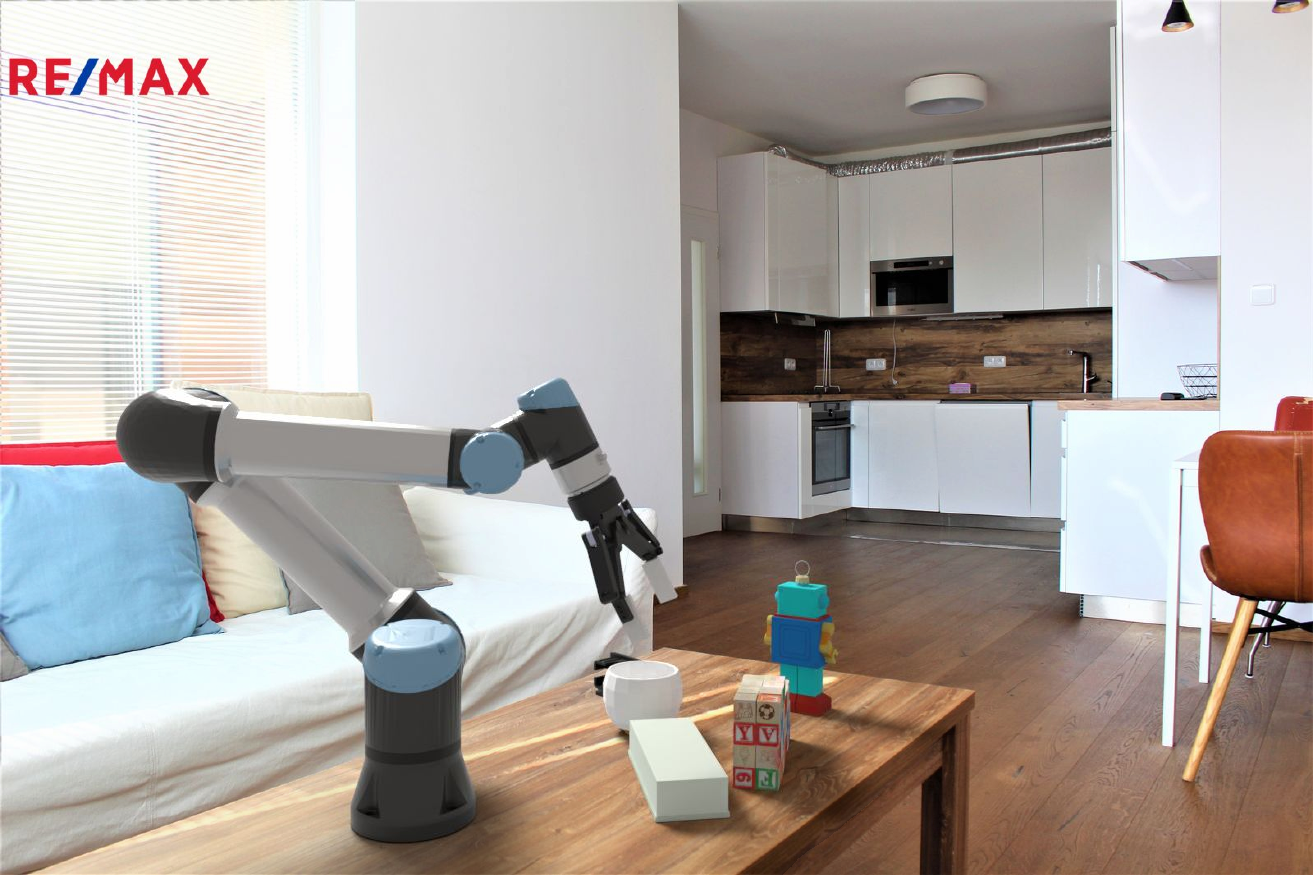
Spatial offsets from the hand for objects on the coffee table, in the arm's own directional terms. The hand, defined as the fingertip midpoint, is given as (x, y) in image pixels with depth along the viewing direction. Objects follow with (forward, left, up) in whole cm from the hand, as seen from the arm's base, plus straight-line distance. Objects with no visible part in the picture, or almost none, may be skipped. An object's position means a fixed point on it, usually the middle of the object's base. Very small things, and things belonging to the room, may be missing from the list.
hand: (656, 619), depth 145 cm
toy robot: (+28, +22, -21) cm, 42 cm away
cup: (0, +15, -21) cm, 26 cm away
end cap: (0, +34, -21) cm, 40 cm away
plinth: (+1, -7, -21) cm, 22 cm away
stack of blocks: (+16, -1, -21) cm, 26 cm away
